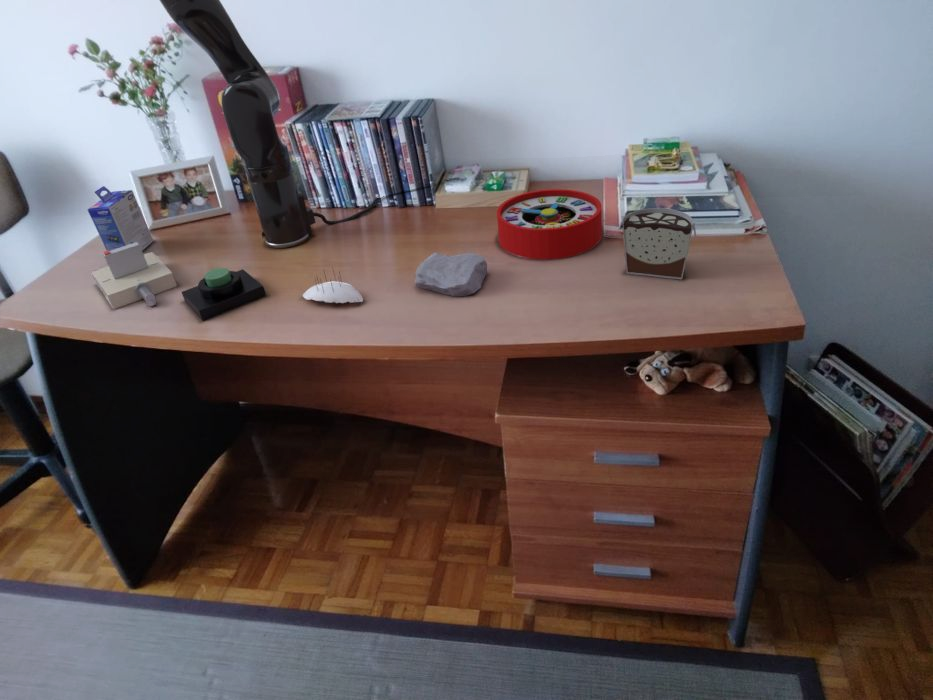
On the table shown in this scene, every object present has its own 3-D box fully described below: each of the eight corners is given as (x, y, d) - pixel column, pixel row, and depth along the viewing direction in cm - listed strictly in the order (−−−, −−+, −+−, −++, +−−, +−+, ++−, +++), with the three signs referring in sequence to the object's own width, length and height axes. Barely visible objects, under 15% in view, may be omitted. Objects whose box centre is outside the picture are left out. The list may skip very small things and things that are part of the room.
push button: (226, 274, 125) (224, 265, 124) (235, 281, 122) (232, 272, 121) (203, 282, 123) (200, 273, 122) (212, 290, 120) (208, 281, 119)
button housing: (246, 279, 131) (240, 260, 128) (266, 296, 124) (260, 276, 121) (185, 302, 125) (177, 283, 123) (202, 321, 118) (195, 301, 116)
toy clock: (582, 234, 118) (479, 224, 126) (582, 264, 121) (482, 252, 129) (614, 192, 132) (520, 186, 140) (614, 220, 135) (522, 212, 144)
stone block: (475, 306, 116) (491, 269, 122) (470, 284, 113) (486, 248, 119) (413, 303, 120) (431, 267, 126) (406, 282, 117) (425, 247, 123)
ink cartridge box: (132, 242, 153) (106, 180, 145) (154, 241, 152) (130, 178, 144) (109, 262, 145) (80, 197, 137) (132, 260, 144) (105, 196, 136)
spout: (152, 293, 129) (147, 280, 127) (161, 302, 125) (155, 289, 123) (138, 298, 127) (132, 285, 126) (145, 308, 124) (140, 295, 122)
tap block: (157, 264, 141) (151, 250, 139) (177, 286, 131) (171, 271, 129) (97, 285, 135) (90, 271, 134) (113, 309, 126) (107, 294, 124)
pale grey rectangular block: (146, 264, 134) (136, 240, 131) (148, 267, 132) (139, 243, 129) (112, 276, 131) (101, 252, 128) (114, 279, 129) (103, 254, 126)
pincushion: (294, 306, 119) (286, 277, 116) (312, 289, 124) (305, 261, 121) (354, 312, 115) (348, 282, 112) (370, 294, 120) (364, 266, 117)
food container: (697, 264, 117) (702, 209, 111) (691, 280, 112) (696, 224, 107) (626, 256, 122) (628, 204, 116) (617, 272, 117) (619, 218, 112)
